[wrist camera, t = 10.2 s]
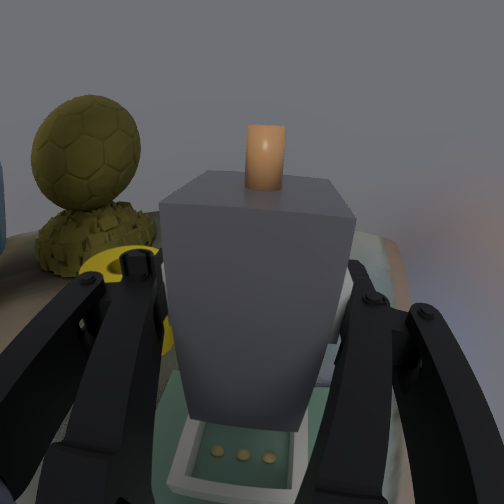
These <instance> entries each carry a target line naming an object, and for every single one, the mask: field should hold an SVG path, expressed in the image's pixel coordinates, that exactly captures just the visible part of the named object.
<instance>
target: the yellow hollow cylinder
mask: <svg viewBox="0 0 504 504" xmlns="http://www.w3.org/2000/svg"><path fill="white" fill-rule="evenodd" d="M139 248H141V249H148V250H151V251H152V252H153V253H154V255H155V254H157V252H158V251H159V249H156V248H153V247H148V246H139V245H131V246H122V247H116V248H112V249H108V250H105V251H103V252H100V253H98V254H96V255H94V256H93V257H91V258H90V259H88V260H87V261H86V262H85V263H84V264H83V265H82V267H81V268H80V271H79V274H82V273H84V272H88V271H97V272H100V273H101V274H102V275H103V277H104V281H105V283H106V282H120V281H121V279H122V271H121V266H120V260H119V256H120V255H121V254H122V253H124V252H126V251H128V250H132V249H139ZM163 324H164V330H165V333H164V340H163V348H162V355H161V356H163V355H164V354H165V353H167V352H168V351H169V350H170V349H171V348H172V347H173V345H174V344H175V343H174V337H173V331H172V326H169V321H168V315H167V316H166V318H165V320H164V322H163Z"/></svg>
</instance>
